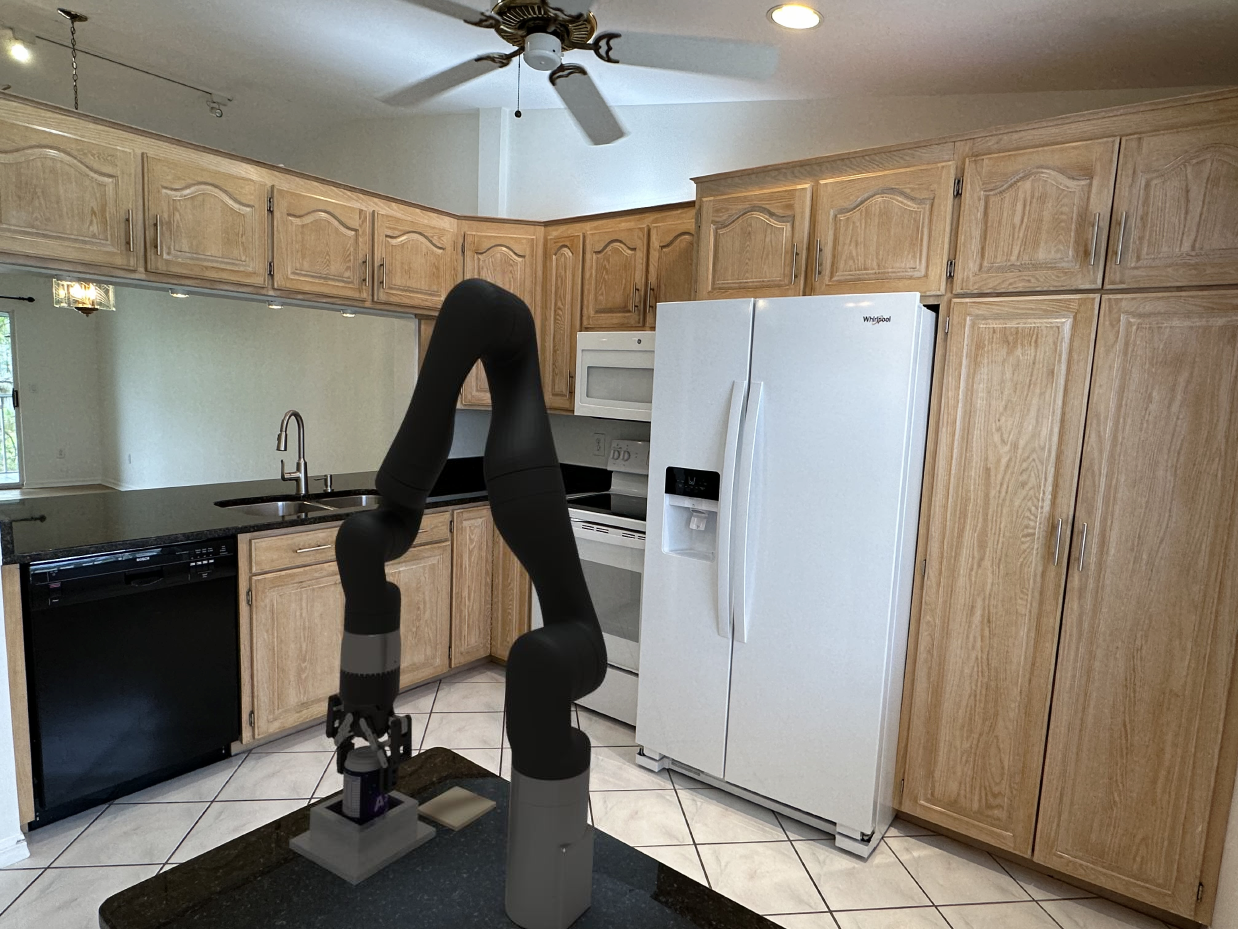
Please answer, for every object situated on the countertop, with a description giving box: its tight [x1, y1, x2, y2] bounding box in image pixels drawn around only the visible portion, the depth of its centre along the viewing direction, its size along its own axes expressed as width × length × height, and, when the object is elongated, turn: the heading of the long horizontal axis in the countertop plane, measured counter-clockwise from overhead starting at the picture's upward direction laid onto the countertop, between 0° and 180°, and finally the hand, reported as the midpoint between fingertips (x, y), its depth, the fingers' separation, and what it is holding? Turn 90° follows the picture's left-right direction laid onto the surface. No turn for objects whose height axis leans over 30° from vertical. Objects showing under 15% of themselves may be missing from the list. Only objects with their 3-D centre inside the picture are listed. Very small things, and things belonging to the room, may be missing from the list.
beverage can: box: [342, 744, 388, 826], centre depth 94 cm, size 6×6×12 cm
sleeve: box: [288, 789, 437, 886], centre depth 94 cm, size 13×13×5 cm
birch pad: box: [418, 785, 497, 832], centre depth 103 cm, size 8×8×1 cm
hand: (365, 781), depth 94 cm, fingers open, 8 cm apart
